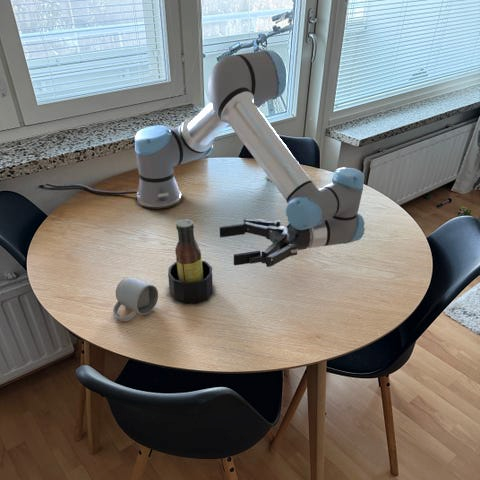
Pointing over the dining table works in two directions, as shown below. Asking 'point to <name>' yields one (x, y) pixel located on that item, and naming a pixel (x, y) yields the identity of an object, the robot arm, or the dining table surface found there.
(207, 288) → the cup
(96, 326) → the dining table surface
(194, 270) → the sauce bottle
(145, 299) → the ceramic mug
